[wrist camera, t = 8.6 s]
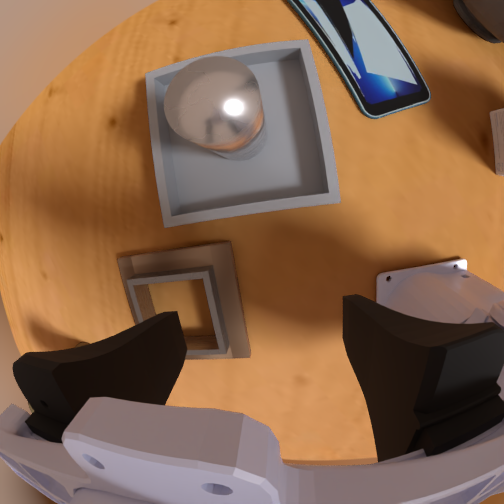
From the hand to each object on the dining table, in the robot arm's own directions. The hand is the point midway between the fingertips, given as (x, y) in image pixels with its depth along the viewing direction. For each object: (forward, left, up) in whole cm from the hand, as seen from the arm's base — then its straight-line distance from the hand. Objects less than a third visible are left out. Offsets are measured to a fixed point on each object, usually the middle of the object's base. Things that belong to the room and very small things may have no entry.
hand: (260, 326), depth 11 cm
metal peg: (+1, -10, -9) cm, 14 cm away
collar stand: (+8, +3, -10) cm, 13 cm away
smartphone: (-10, -18, -11) cm, 23 cm away
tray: (+1, -10, -10) cm, 14 cm away
